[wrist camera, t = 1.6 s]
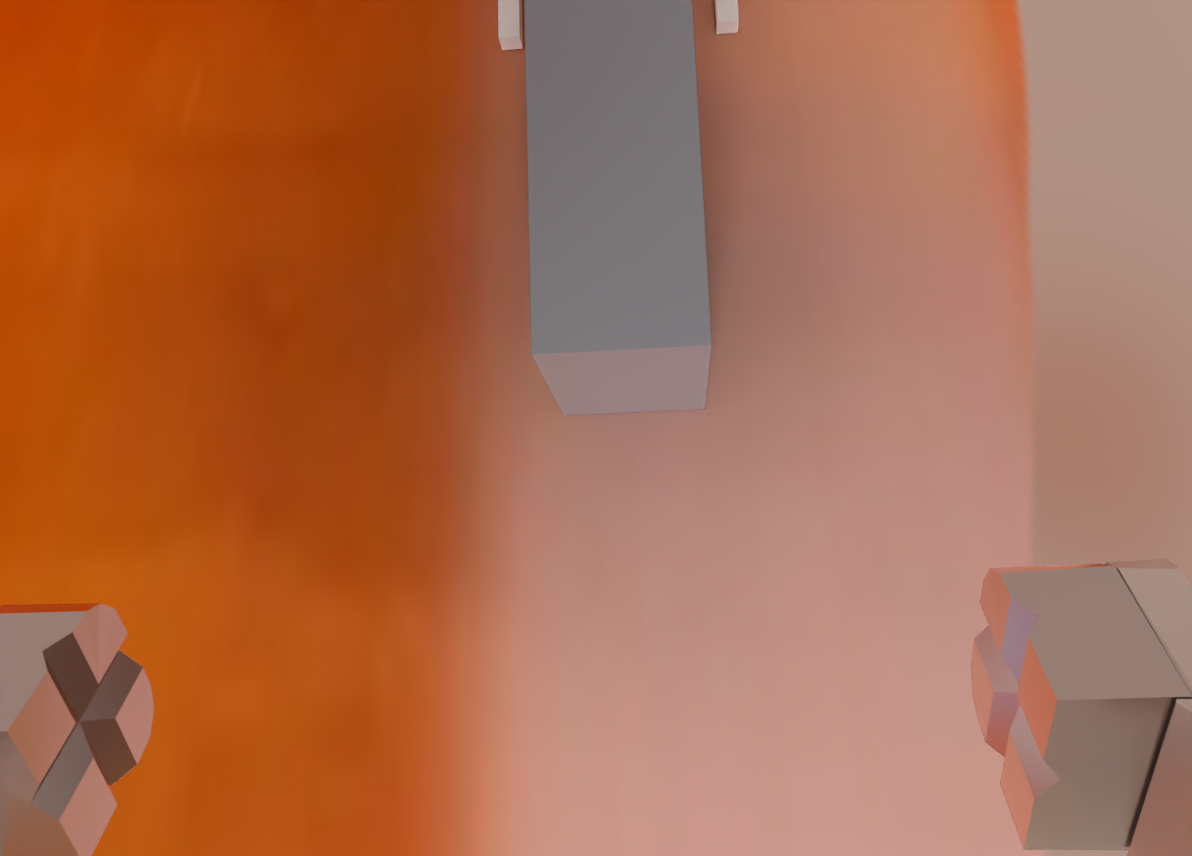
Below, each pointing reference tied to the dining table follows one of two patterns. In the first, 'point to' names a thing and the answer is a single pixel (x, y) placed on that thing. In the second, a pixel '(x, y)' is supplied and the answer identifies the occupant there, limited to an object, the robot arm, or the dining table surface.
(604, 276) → the grey block
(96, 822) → the robot arm
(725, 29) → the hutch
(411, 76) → the dining table surface
